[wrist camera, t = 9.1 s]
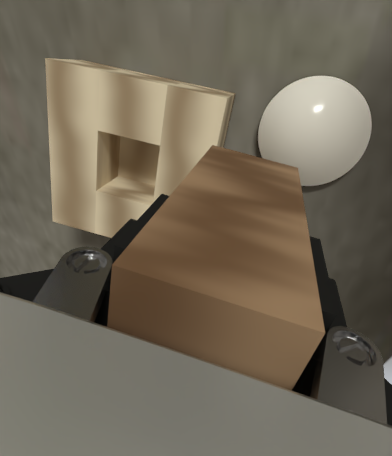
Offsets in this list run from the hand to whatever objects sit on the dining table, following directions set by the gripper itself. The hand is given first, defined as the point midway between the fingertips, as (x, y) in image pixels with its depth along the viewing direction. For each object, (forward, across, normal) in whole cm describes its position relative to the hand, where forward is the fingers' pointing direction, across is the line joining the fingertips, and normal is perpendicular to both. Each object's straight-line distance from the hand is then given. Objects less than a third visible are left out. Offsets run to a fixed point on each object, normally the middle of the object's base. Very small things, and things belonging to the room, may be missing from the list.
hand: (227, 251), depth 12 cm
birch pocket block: (+23, +11, +5) cm, 26 cm away
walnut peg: (+6, 0, 0) cm, 6 cm away
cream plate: (+23, -5, -1) cm, 23 cm away
